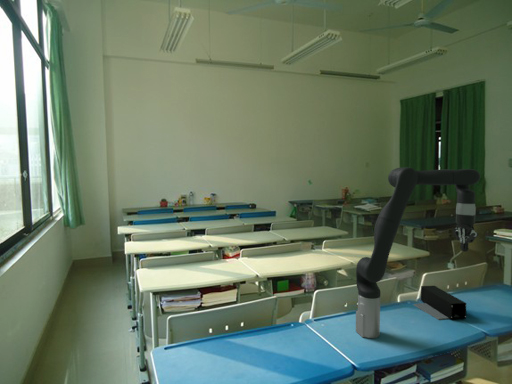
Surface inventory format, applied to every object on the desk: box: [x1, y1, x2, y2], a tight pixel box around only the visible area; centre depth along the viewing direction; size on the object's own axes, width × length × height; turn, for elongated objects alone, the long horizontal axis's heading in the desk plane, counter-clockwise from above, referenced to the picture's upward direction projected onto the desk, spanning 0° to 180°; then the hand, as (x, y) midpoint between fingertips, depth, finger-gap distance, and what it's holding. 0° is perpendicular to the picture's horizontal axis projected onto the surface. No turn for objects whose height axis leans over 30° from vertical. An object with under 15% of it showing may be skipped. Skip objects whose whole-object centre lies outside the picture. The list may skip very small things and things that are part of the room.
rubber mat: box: [413, 302, 460, 321], centre depth 175 cm, size 12×18×1 cm, turn 12°
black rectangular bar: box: [420, 285, 467, 320], centre depth 178 cm, size 8×8×28 cm
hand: (464, 251), depth 156 cm, fingers closed
